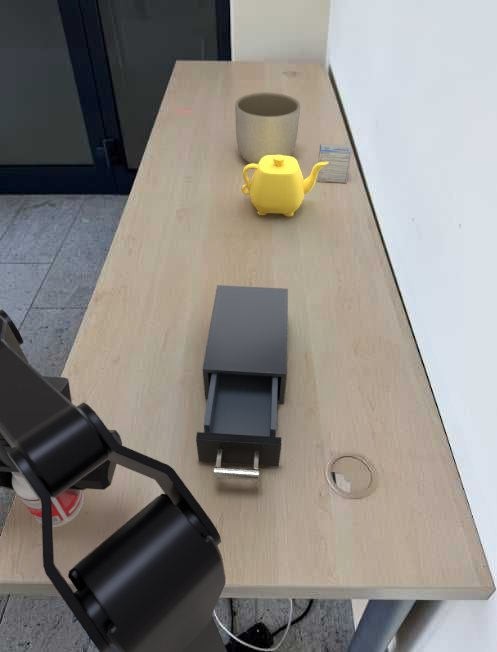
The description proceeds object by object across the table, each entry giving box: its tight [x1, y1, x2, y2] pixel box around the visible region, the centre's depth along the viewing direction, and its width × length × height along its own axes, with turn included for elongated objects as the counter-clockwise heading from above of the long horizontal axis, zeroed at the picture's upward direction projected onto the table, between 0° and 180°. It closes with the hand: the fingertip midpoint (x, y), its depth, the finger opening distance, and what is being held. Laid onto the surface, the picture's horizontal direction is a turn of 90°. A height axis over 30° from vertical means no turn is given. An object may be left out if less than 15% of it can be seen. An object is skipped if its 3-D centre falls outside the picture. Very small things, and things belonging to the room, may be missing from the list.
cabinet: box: [202, 284, 289, 405], centre depth 82 cm, size 20×13×8 cm, turn 176°
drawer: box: [195, 373, 282, 482], centre depth 72 cm, size 23×11×6 cm, turn 176°
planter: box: [234, 91, 301, 164], centre depth 132 cm, size 17×17×15 cm
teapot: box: [241, 155, 329, 217], centre depth 115 cm, size 14×20×13 cm
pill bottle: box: [12, 472, 85, 528], centre depth 57 cm, size 6×6×11 cm
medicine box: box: [316, 143, 352, 184], centre depth 127 cm, size 8×4×9 cm, turn 85°
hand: (51, 489), depth 59 cm, fingers closed on pill bottle, 6 cm apart
